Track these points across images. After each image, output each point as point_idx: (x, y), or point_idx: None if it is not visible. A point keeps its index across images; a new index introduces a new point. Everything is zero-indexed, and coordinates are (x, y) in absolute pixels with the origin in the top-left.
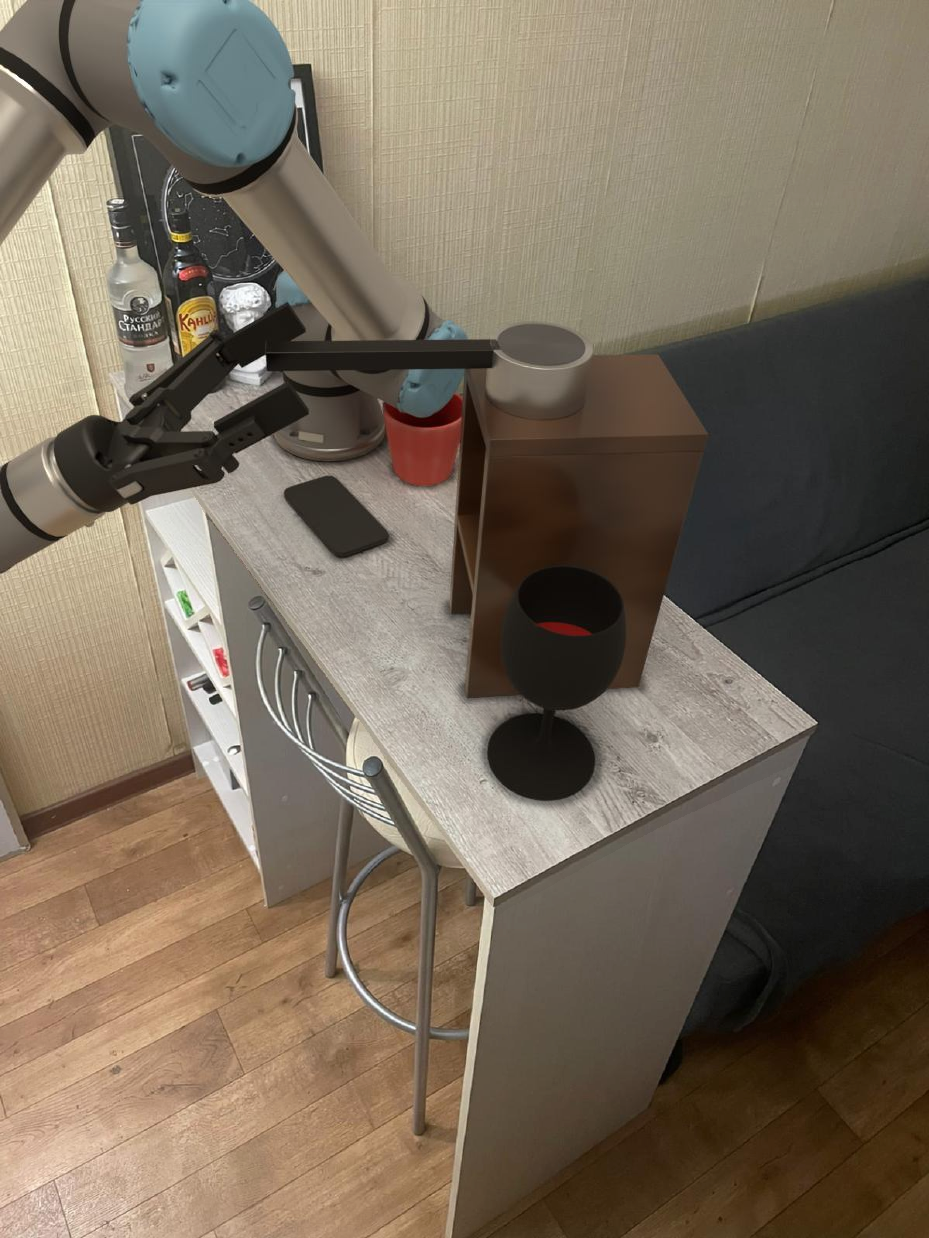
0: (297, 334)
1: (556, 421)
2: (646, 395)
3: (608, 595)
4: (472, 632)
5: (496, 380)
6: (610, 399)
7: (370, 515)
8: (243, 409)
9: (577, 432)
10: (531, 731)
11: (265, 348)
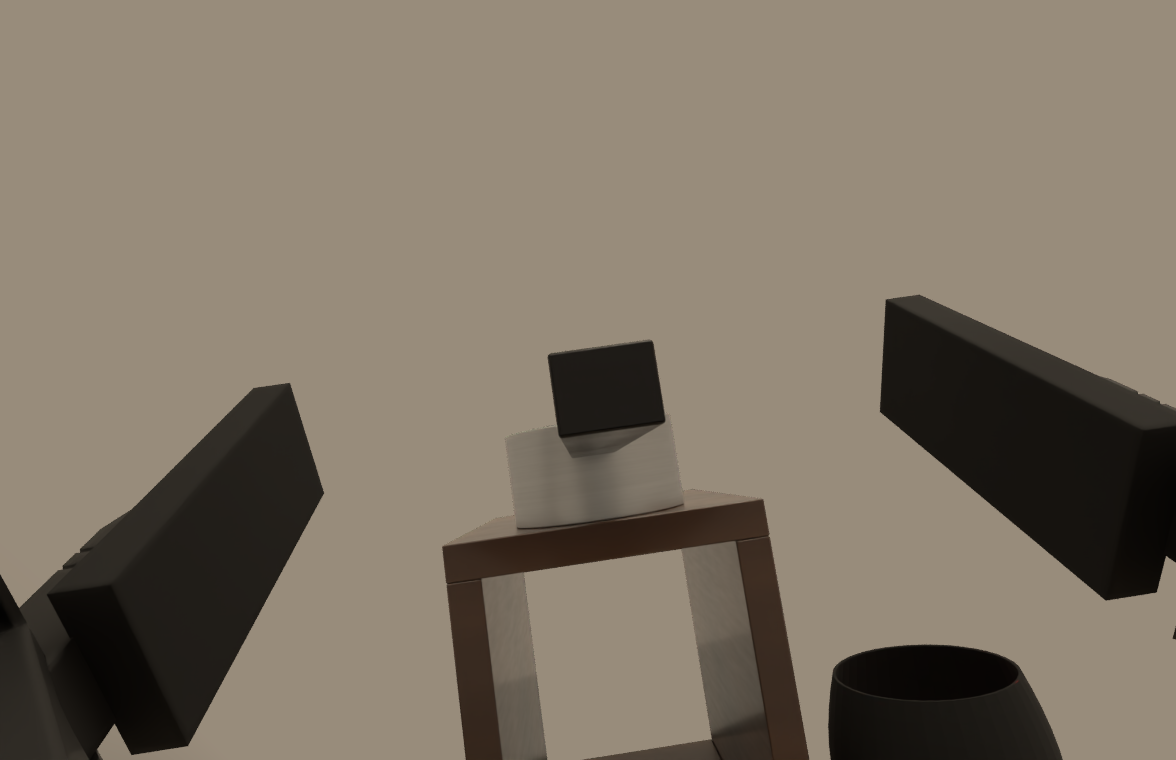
0: (311, 503)
1: (684, 501)
2: None
3: (855, 685)
4: None
5: (634, 463)
6: None
7: None
8: (1037, 356)
9: (713, 495)
10: None
11: (608, 348)
